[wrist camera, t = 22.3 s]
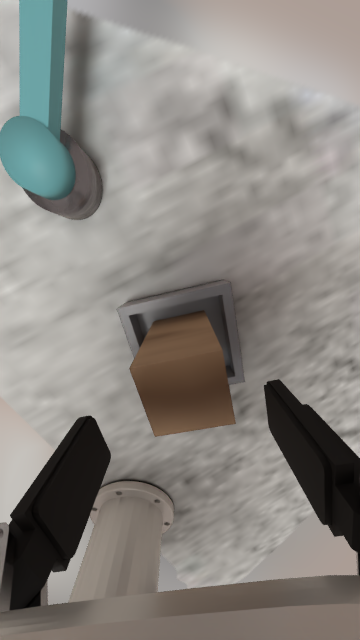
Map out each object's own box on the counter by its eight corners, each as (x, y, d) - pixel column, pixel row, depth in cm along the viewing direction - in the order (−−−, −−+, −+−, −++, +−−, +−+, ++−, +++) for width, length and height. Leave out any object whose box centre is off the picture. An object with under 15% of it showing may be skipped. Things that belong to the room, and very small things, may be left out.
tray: (237, 367, 19) (244, 381, 17) (152, 383, 20) (148, 399, 17) (223, 279, 16) (230, 282, 14) (125, 302, 17) (116, 308, 15)
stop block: (213, 355, 18) (235, 423, 10) (166, 365, 18) (154, 436, 11) (204, 310, 16) (222, 350, 9) (153, 321, 17) (129, 368, 9)
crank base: (111, 211, 15) (99, 202, 12) (56, 226, 15) (36, 220, 13) (88, 137, 13) (70, 113, 11) (28, 157, 14) (0, 137, 11)
